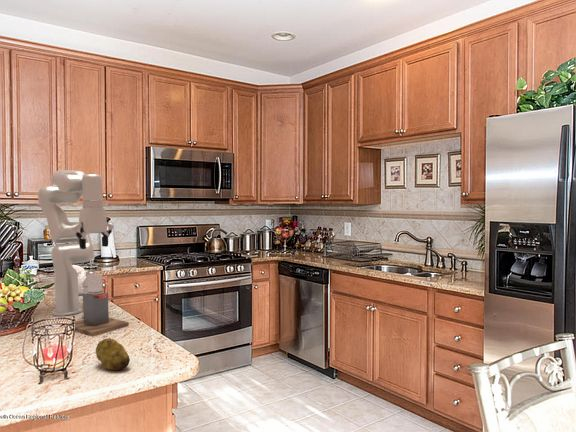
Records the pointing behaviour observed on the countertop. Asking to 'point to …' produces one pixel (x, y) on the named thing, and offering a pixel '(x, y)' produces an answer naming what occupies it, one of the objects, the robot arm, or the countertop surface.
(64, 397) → the countertop surface
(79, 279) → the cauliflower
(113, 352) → the potato
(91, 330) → the stand
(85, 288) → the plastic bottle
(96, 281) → the steel post
